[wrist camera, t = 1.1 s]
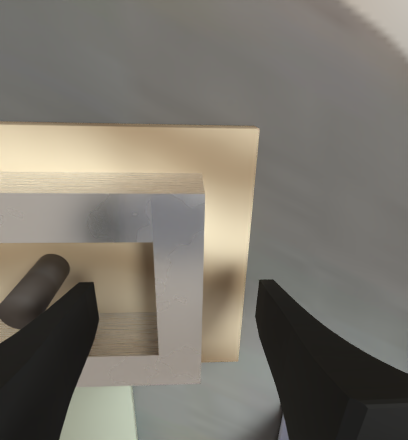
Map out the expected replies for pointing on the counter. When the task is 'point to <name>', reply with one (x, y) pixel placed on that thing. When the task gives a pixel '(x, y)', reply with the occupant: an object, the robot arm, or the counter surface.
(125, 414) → the mat
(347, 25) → the counter surface
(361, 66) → the counter surface
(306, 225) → the counter surface
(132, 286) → the hook board
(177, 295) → the c link
